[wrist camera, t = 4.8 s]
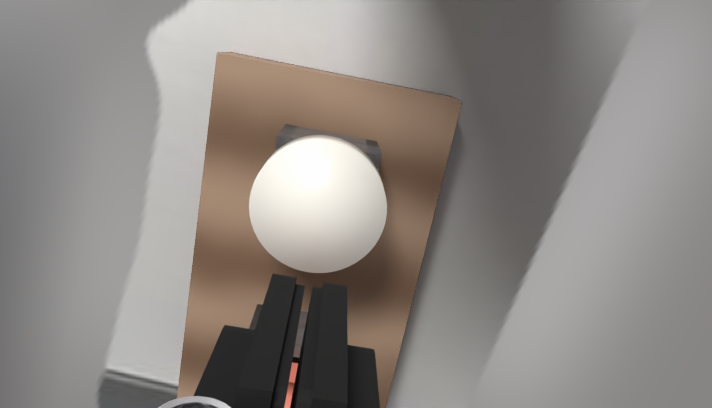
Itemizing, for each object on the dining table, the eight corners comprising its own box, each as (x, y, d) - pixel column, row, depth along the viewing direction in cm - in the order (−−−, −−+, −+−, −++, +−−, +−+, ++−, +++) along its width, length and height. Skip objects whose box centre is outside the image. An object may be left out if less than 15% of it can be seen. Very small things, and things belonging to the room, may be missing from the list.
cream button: (276, 112, 25) (259, 129, 20) (389, 134, 26) (400, 156, 21) (259, 220, 27) (240, 260, 22) (366, 239, 27) (371, 283, 22)
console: (230, 52, 28) (197, 53, 21) (450, 96, 28) (479, 110, 22) (190, 373, 33) (155, 449, 27) (375, 402, 34) (382, 481, 28)
